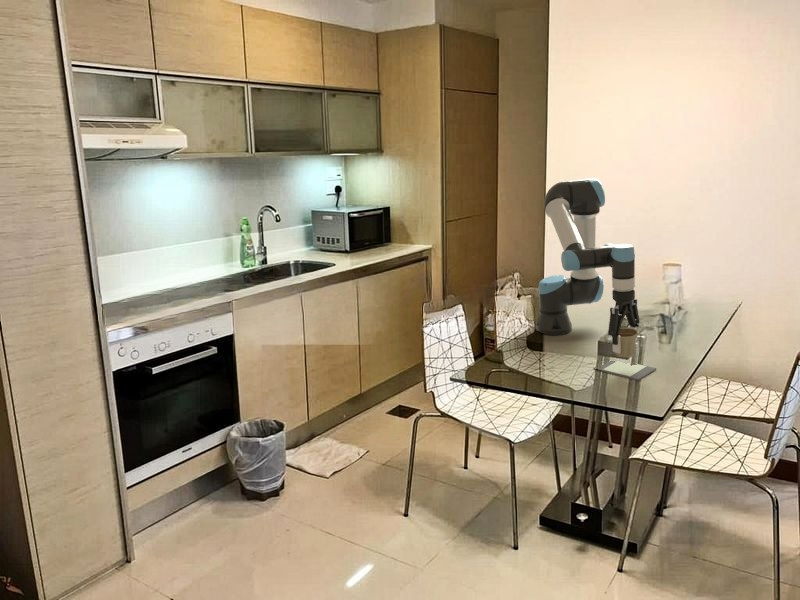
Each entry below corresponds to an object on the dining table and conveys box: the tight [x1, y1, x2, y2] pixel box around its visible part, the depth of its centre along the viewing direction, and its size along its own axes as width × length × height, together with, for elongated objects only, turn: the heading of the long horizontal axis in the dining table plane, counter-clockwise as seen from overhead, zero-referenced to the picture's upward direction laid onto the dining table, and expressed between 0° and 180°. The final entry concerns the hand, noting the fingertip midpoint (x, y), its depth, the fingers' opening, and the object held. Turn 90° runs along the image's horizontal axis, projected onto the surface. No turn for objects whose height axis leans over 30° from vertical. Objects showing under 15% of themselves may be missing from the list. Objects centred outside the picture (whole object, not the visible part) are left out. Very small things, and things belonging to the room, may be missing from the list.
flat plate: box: [593, 361, 657, 381], centre depth 242 cm, size 12×18×1 cm, turn 40°
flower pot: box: [615, 327, 639, 359], centre depth 239 cm, size 9×9×9 cm
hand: (624, 348), depth 239 cm, fingers closed on flower pot, 9 cm apart
